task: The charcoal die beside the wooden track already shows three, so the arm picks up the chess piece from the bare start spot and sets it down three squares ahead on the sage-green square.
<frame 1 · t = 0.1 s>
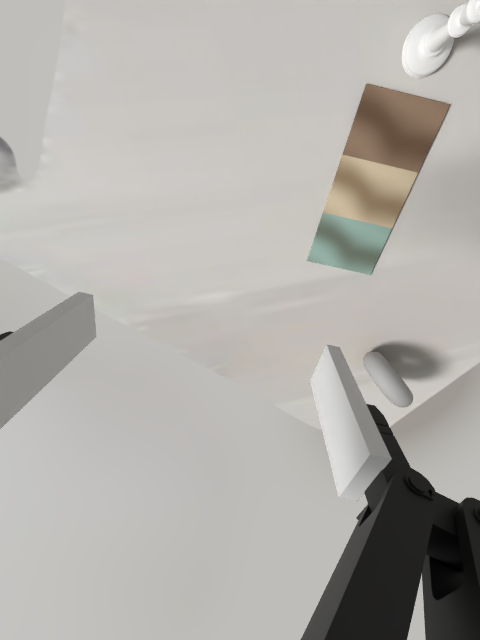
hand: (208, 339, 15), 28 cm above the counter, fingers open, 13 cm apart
track: (379, 163, 34), on the counter
chess piece: (425, 49, 28), on the counter
donut: (375, 359, 48), on the counter
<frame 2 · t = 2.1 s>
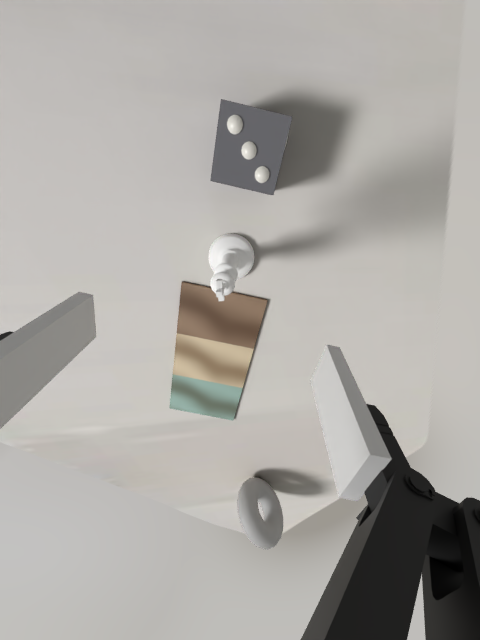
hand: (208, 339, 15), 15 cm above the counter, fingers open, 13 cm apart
track: (215, 339, 33), on the counter
chess piece: (231, 256, 28), on the counter
die: (250, 154, 23), on the counter
donut: (260, 479, 48), on the counter
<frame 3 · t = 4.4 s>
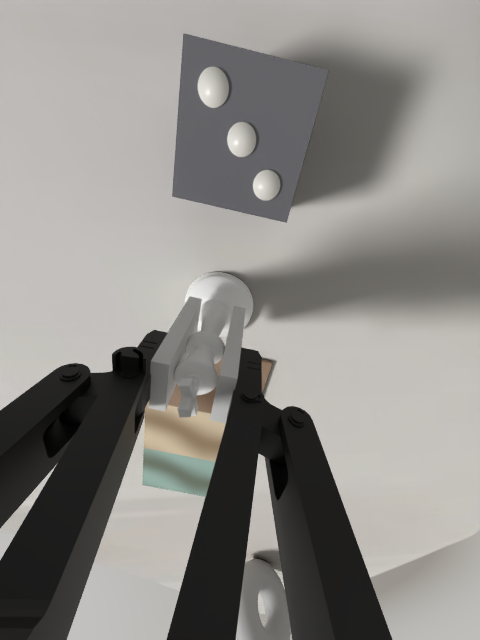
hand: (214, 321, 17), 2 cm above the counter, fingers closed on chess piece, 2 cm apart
track: (200, 408, 24), on the counter
chess piece: (219, 303, 19), on the counter, touching gripper
die: (247, 151, 14), on the counter
donut: (261, 558, 39), on the counter
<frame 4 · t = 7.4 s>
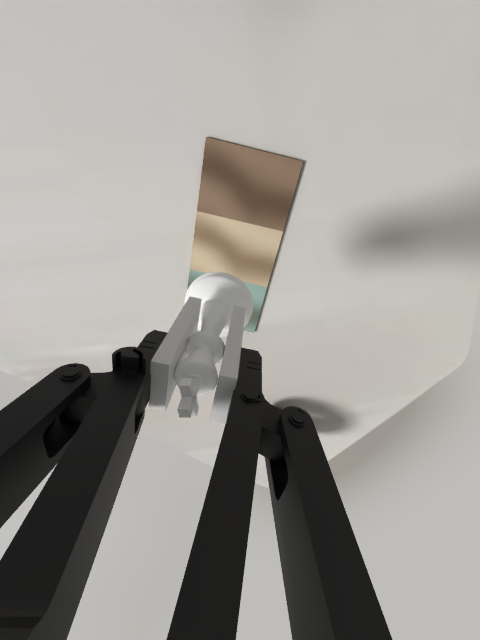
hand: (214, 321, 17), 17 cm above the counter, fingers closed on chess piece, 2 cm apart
track: (240, 220, 30), on the counter
chess piece: (219, 303, 19), point 14 cm above the counter, touching gripper
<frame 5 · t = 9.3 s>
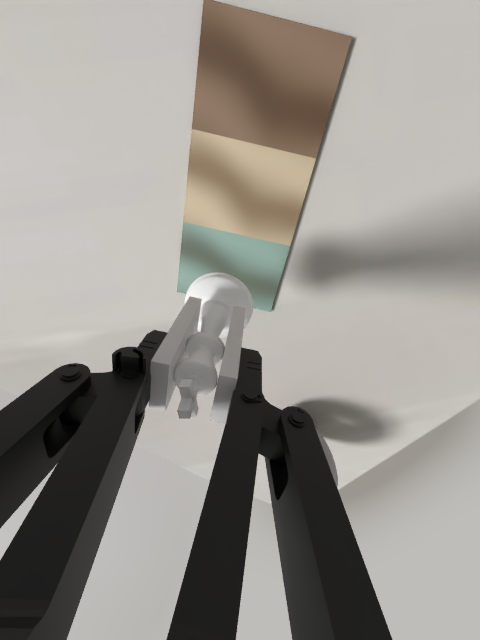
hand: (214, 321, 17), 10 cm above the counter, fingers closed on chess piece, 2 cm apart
track: (254, 144, 21), on the counter
chess piece: (219, 303, 19), point 8 cm above the counter, touching gripper
when the fingers open (4 cm above the counter, at t = 10.6 s): chess piece drops 1 cm, resting on track.
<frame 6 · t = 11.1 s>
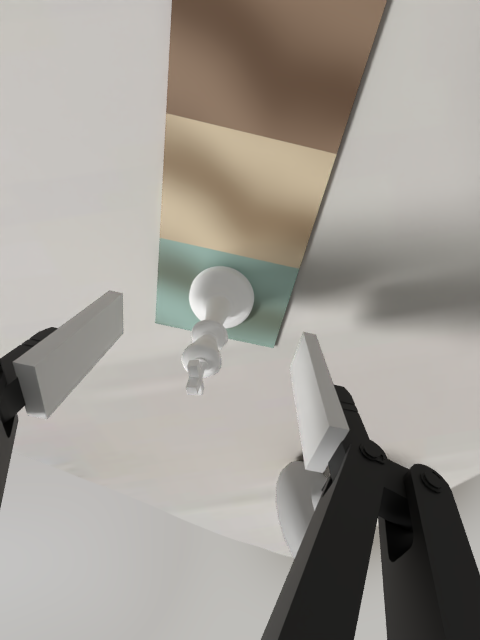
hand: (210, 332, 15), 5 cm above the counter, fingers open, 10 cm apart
track: (252, 134, 15), on the counter
chess piece: (222, 296, 20), resting on track
donut: (306, 465, 30), on the counter
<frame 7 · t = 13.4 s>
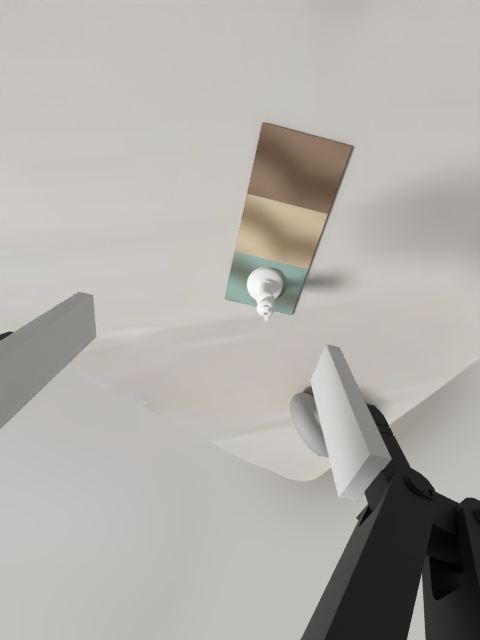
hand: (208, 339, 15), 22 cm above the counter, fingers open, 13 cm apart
track: (287, 203, 31), on the counter
chess piece: (264, 283, 36), resting on track
donut: (308, 398, 45), on the counter
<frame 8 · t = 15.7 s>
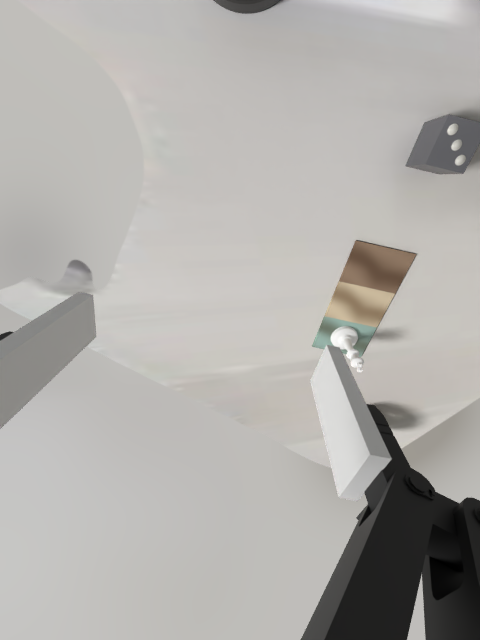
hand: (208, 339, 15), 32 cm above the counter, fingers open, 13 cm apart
track: (366, 286, 45), on the counter
chess piece: (343, 336, 50), resting on track
die: (432, 149, 35), on the counter
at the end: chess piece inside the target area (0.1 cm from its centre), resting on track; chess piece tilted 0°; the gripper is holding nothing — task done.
